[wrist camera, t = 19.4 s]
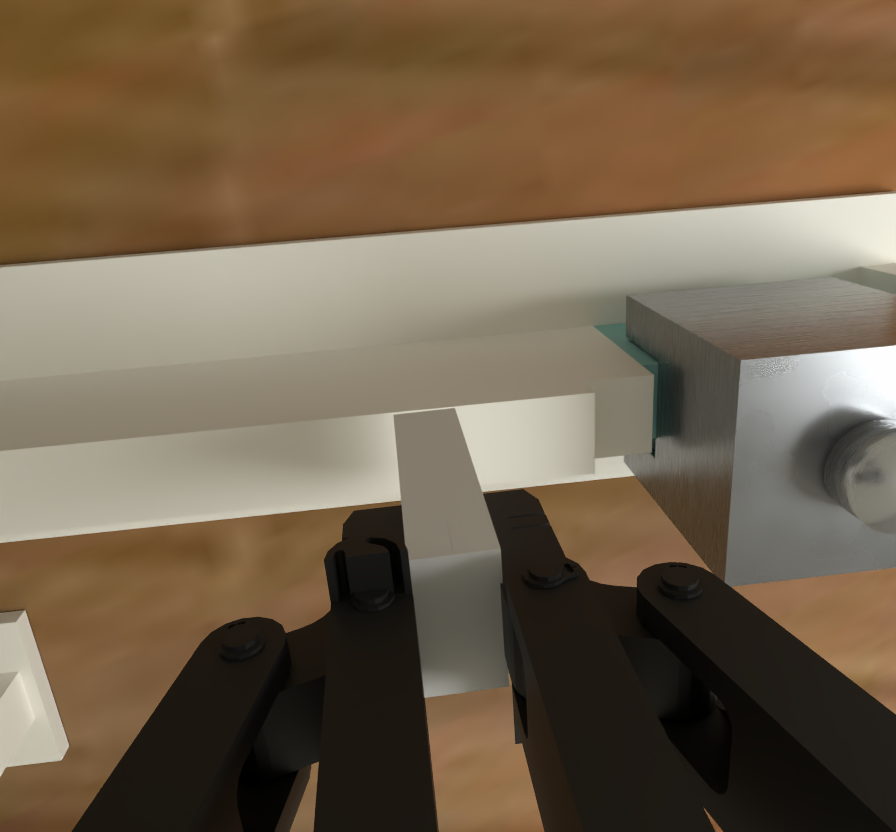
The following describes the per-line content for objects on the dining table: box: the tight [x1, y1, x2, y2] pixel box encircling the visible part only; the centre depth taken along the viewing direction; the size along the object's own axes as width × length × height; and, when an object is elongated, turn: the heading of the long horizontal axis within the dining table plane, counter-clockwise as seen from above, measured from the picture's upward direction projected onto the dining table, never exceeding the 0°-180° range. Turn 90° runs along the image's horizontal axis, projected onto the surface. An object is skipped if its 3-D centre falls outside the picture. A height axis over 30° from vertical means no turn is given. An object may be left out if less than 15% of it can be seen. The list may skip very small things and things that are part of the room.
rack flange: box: [0, 191, 896, 543], centre depth 22 cm, size 10×37×10 cm, turn 94°
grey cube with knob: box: [624, 277, 896, 587], centre depth 21 cm, size 6×7×9 cm
